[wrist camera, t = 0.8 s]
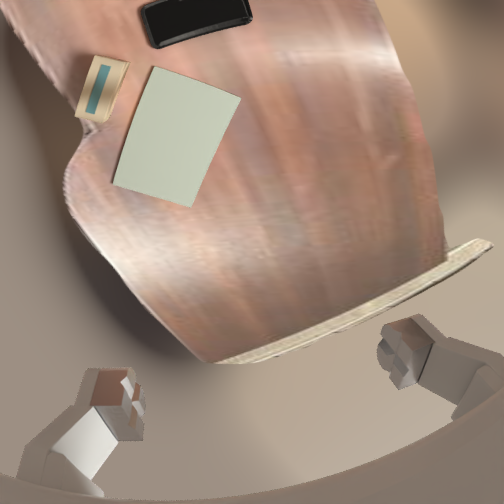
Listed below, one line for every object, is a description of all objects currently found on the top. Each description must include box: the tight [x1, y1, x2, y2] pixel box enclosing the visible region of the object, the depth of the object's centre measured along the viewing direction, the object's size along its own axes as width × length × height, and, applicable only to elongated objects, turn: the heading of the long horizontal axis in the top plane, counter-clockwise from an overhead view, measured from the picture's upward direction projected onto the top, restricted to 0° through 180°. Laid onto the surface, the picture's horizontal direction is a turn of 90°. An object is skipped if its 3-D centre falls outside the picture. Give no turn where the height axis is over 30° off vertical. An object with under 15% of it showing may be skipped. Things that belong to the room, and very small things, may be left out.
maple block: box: [75, 55, 131, 123], centre depth 33 cm, size 9×4×5 cm, turn 154°
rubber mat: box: [113, 66, 241, 208], centre depth 42 cm, size 20×14×1 cm
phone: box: [141, 0, 253, 49], centre depth 31 cm, size 8×1×15 cm
